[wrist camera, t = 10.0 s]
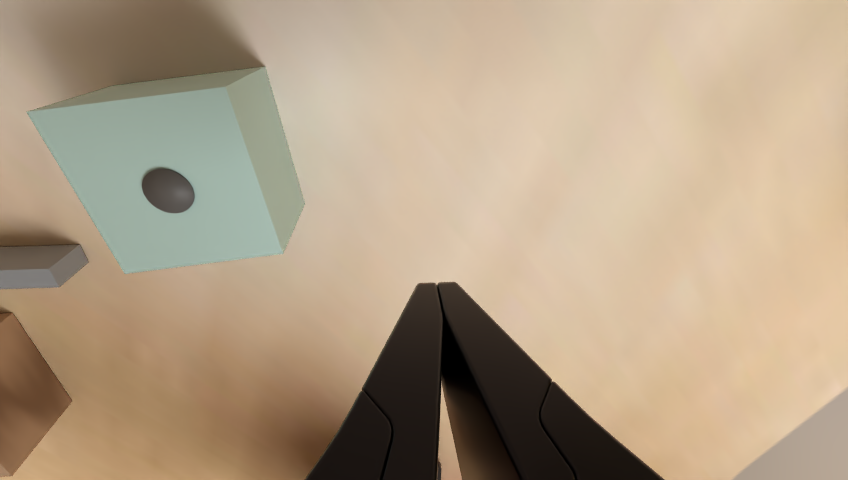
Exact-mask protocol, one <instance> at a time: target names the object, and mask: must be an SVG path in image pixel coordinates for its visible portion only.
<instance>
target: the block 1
mask: <svg viewBox="0 0 848 480" xmlns="http://www.w3.org/2000/svg"><path fill="white" fill-rule="evenodd" d="M71 402H72V400H71V399H70V397H69V396H68V394H67V393H66V391H65V390H64V388H63V387H62V385H61V384H60V382H59V381H58V379H57V378H56V376H55V375H54V374H53V372H52V371H51V369H50V368H49V366H48V365H47V363H46V362H45V360H44V359H43V357H42V356H41V354H40V353H39V351H38V350H37V348H36V347H35V346H34V344H33V343H32V341H31V340H30V338H29V337H28V335H27V334H26V332H25V331H24V329H23V328H22V326H21V325H20V323H19V322H18V320H17V319H16V317H15V316H14V315H13V313H0V477H5V476H12V475H13V474H14V473H15V472H16V470H17V469H18V468H19V467H20V465H21V464H22V463H23V462H24V461H25V459H26V458H27V457H28V456H29V454H30V453H31V452H32V451H33V449H34V448H35V447H36V446H37V444H38V443H39V442H40V441H41V439H42V438H43V437H44V436H45V434H46V433H47V432H48V431H49V429H50V428H51V427H52V426H53V424H54V423H55V422H56V421H57V419H58V418H59V417H60V416H61V414H62V413H63V412H64V411H65V409H66V408H67V407H68V406H69V404H70V403H71Z"/></svg>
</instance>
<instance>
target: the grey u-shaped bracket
mask: <svg viewBox="0 0 848 480" xmlns="http://www.w3.org/2000/svg"><path fill="white" fill-rule="evenodd" d="M87 263H88V260H87V258H86V256H85V254H84V252H83V250H82V248H81V246H80V245H51V246H15V247H0V289H22V288H52V287H60V286H61V285H63V284H64V283H65V282H66V281H67V280H68V279H70V278H71V277H72V276H73V275H74V274H75V273H77V272H78V271H79V270H80V269H81V268H82V267H84V266H85V265H86V264H87Z"/></svg>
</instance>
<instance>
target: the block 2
mask: <svg viewBox="0 0 848 480" xmlns="http://www.w3.org/2000/svg"><path fill="white" fill-rule="evenodd" d="M27 114H28V115H29V117H30V119H31V120H32V122H33V124H34V125H35V127H36V129H37V130H38V132H39V134H40V135H41V137H42V138H43V140H44V142H45V143H46V145H47V147H48V148H49V150H50V152H51V153H52V155H53V157H54V158H55V160H56V162H57V163H58V165H59V166H60V168H61V170H62V171H63V173H64V175H65V176H66V178H67V180H68V181H69V183H70V185H71V186H72V188H73V189H74V191H75V193H76V194H77V196H78V198H79V199H80V201H81V203H82V204H83V206H84V208H85V209H86V211H87V213H88V214H89V216H90V217H91V219H92V221H93V222H94V224H95V226H96V227H97V229H98V231H99V232H100V234H101V236H102V237H103V239H104V241H105V242H106V244H107V245H108V247H109V249H110V250H111V252H112V254H113V255H114V257H115V259H116V260H117V262H118V264H119V265H120V267H121V269H122V270H123V272H124V273H125V274H128V273H136V272H144V271H151V270H159V269H167V268H175V267H183V266H191V265H199V264H207V263H215V262H222V261H230V260H238V259H246V258H254V257H262V256H270V255H278V254H283V253H284V251H285V249H286V246H287V244H288V242H289V239H290V237H291V235H292V232H293V230H294V228H295V226H296V223H297V221H298V219H299V216H300V214H301V212H302V209H303V207H304V205H305V202H304V199H303V195H302V192H301V188H300V185H299V181H298V178H297V174H296V171H295V168H294V164H293V161H292V157H291V154H290V150H289V147H288V143H287V140H286V137H285V133H284V130H283V126H282V123H281V119H280V116H279V112H278V109H277V105H276V102H275V99H274V95H273V92H272V88H271V85H270V81H269V78H268V74H267V71H266V68H265V66H264V67H256V68H248V69H240V70H233V71H225V72H217V73H209V74H201V75H193V76H185V77H177V78H169V79H161V80H153V81H145V82H137V83H130V84H122V85H114V86H110V87H107V88H104V89H100V90H97V91H94V92H90V93H87V94H84V95H80V96H77V97H74V98H71V99H67V100H64V101H61V102H57V103H54V104H51V105H47V106H44V107H41V108H37V109H34V110H31V111H28V112H27Z"/></svg>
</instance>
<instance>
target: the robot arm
mask: <svg viewBox="0 0 848 480" xmlns="http://www.w3.org/2000/svg"><path fill="white" fill-rule="evenodd" d="M441 380H442V387H443V392H444V397H445V402H446V406H447V411H448V416H449V420H450V425H451V429H452V434H453V439H454V443H455V448H456V453H457V457H458V462H459V467H460V471H461V476H462V480H664V479H663V478H662V477H661V476H660V475H658V474H657V473H656V472H655V471H654V470H652V469H651V468H650V467H649V466H648V465H646V464H645V463H644V462H643V461H642V460H640V459H639V458H638V457H637V456H636V455H634V454H633V453H632V452H631V451H630V450H629V449H627V448H626V447H625V446H624V445H623V444H621V443H620V442H619V441H618V440H617V439H615V438H614V437H613V436H612V435H611V434H610V433H609V432H607V431H606V430H605V429H604V428H603V427H602V426H601V425H599V424H598V423H597V422H596V421H595V420H594V419H593V418H591V417H590V416H589V415H588V414H587V413H586V412H585V411H584V410H583V409H582V408H581V407H580V406H579V405H578V404H577V403H576V402H575V401H574V400H572V399H571V398H570V397H569V396H568V395H567V394H566V393H565V392H564V391H563V390H562V389H561V388H560V387H559V386H558V385H557V384H556V383H555V382H552V379H551V378H550V377H549V376H548V375H547V374H546V373H545V372H544V371H543V370H542V369H541V368H540V367H539V366H538V365H537V364H536V363H535V362H534V361H533V360H532V359H531V358H530V357H529V356H528V355H527V353H526V352H525V351H524V350H523V349H522V348H521V347H520V346H519V345H518V344H517V343H516V342H515V341H514V340H513V339H512V338H511V337H510V336H509V335H508V334H507V333H506V332H505V331H504V330H503V329H502V328H501V327H500V326H499V325H498V324H497V323H496V322H495V321H494V320H493V319H492V318H491V317H490V316H489V315H488V314H487V313H486V312H485V311H484V310H483V309H482V308H481V307H480V306H479V305H478V304H477V303H476V302H475V301H474V300H473V299H472V298H471V297H470V296H469V295H468V294H467V293H466V292H465V291H464V290H463V289H462V288H461V287H460V286H459V285H458V284H457V283H456V282H440V283H438V284H437V285H436V284H435V283H419V284H417V286H416V288H415V290H414V291H413V293H412V295H411V297H410V299H409V301H408V303H407V305H406V306H405V308H404V310H403V312H402V314H401V316H400V318H399V320H398V322H397V323H396V325H395V327H394V329H393V331H392V333H391V335H390V337H389V338H388V340H387V342H386V344H385V346H384V348H383V350H382V352H381V354H380V355H379V357H378V359H377V361H376V363H375V365H374V367H373V369H372V370H371V372H370V374H369V376H368V378H367V380H366V382H365V384H364V386H363V387H362V391H361V392H360V393H359V395H358V396H357V398H356V400H355V402H354V404H353V406H352V408H351V409H350V411H349V413H348V415H347V416H346V418H345V420H344V422H343V423H342V425H341V427H340V428H339V430H338V432H337V433H336V435H335V436H334V438H333V439H332V441H331V442H330V444H329V445H328V447H327V448H326V450H325V451H324V453H323V454H322V456H321V457H320V459H319V460H318V462H317V463H316V464H315V466H314V467H313V469H312V470H311V471H310V473H309V474H308V476H307V477H306V479H305V480H441V464H440V462H438V450H439V427H440V403H441Z"/></svg>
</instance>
